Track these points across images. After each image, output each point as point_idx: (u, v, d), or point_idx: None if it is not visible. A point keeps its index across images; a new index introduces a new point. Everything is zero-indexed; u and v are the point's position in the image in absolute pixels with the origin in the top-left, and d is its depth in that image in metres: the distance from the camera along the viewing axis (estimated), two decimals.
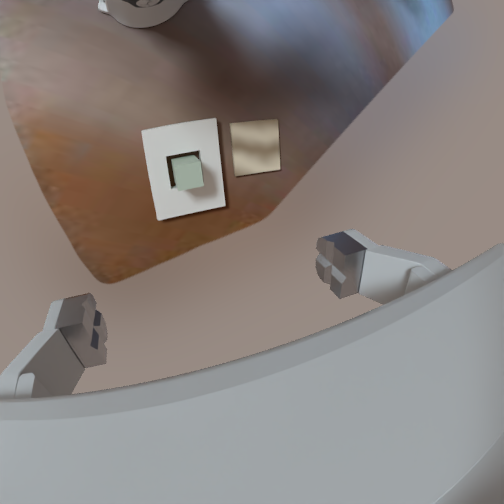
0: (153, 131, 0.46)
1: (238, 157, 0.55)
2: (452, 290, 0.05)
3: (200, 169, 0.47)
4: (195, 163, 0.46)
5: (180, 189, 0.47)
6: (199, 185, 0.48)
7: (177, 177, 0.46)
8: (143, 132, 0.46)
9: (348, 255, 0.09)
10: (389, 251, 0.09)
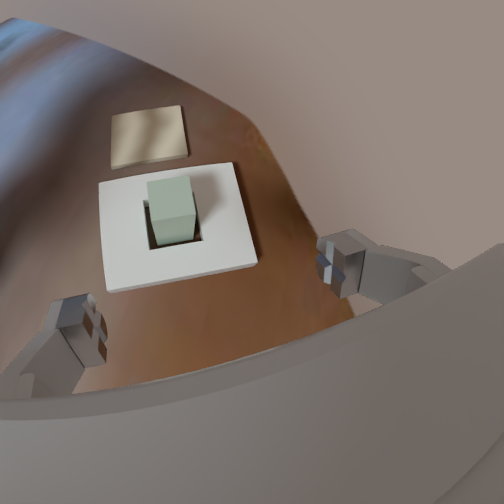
0: (108, 271, 0.30)
1: (160, 152, 0.37)
2: (452, 290, 0.05)
3: (160, 181, 0.28)
4: (149, 188, 0.27)
5: (192, 210, 0.28)
6: (187, 181, 0.29)
7: (171, 215, 0.27)
8: (109, 287, 0.29)
9: (348, 255, 0.09)
10: (389, 251, 0.09)
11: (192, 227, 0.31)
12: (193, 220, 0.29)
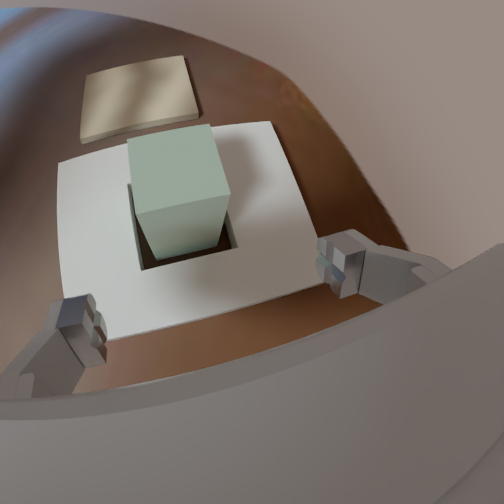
0: None
1: (155, 112, 0.22)
2: (452, 290, 0.05)
3: (153, 136, 0.13)
4: (132, 151, 0.13)
5: (223, 187, 0.13)
6: (207, 134, 0.14)
7: (178, 200, 0.13)
8: None
9: (348, 255, 0.09)
10: (389, 251, 0.09)
11: (219, 224, 0.17)
12: (223, 209, 0.15)
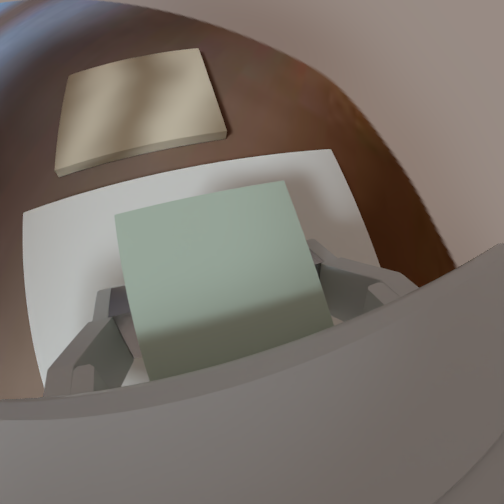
0: None
1: (162, 129, 0.16)
2: (452, 290, 0.05)
3: (170, 208, 0.07)
4: (127, 247, 0.06)
5: None
6: (283, 206, 0.07)
7: None
8: None
9: None
10: (347, 265, 0.08)
11: None
12: None
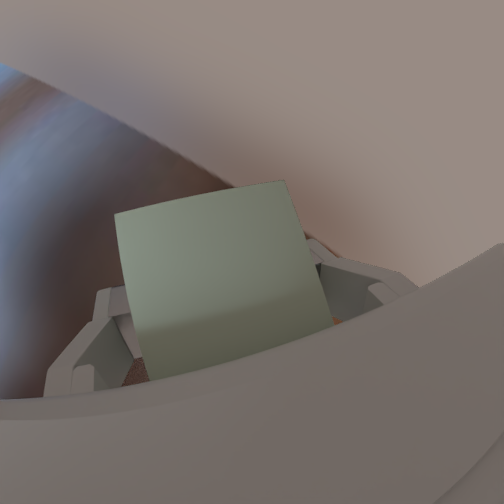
0: None
1: None
2: (452, 290, 0.05)
3: (170, 208, 0.07)
4: (127, 246, 0.06)
5: None
6: (283, 205, 0.07)
7: None
8: None
9: None
10: (347, 265, 0.08)
11: None
12: None
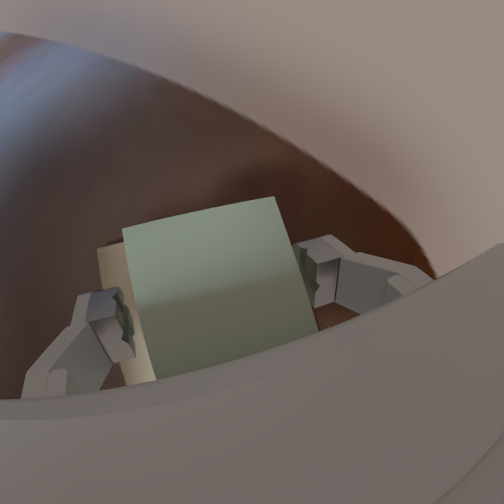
0: None
1: None
2: (452, 290, 0.05)
3: (172, 223, 0.08)
4: (134, 257, 0.07)
5: (310, 333, 0.07)
6: (273, 220, 0.08)
7: None
8: None
9: (321, 263, 0.08)
10: (365, 259, 0.08)
11: None
12: None
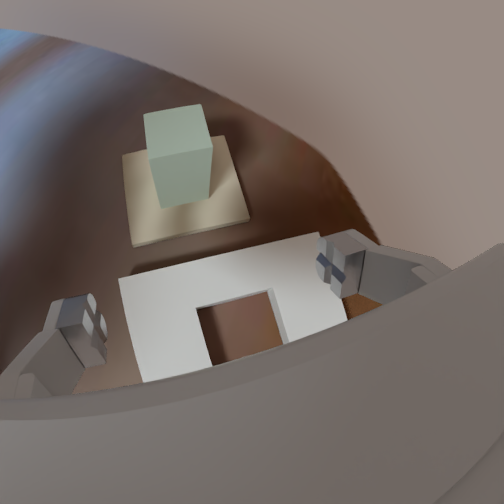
0: None
1: (206, 217, 0.26)
2: (452, 290, 0.05)
3: (161, 112, 0.19)
4: (147, 121, 0.18)
5: (208, 143, 0.19)
6: (199, 110, 0.19)
7: (177, 150, 0.18)
8: None
9: (348, 255, 0.09)
10: (389, 251, 0.09)
11: (207, 175, 0.22)
12: (209, 160, 0.20)
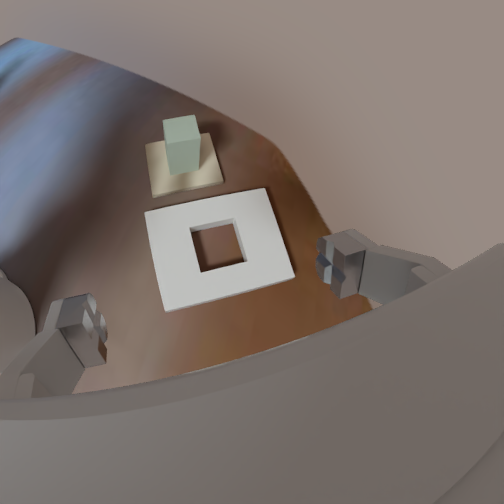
0: (165, 293, 0.35)
1: (197, 180, 0.42)
2: (452, 290, 0.05)
3: (173, 119, 0.35)
4: (165, 124, 0.35)
5: (198, 136, 0.35)
6: (193, 118, 0.36)
7: (182, 139, 0.35)
8: (167, 308, 0.35)
9: (348, 255, 0.09)
10: (389, 251, 0.09)
11: (198, 154, 0.39)
12: (198, 145, 0.37)
